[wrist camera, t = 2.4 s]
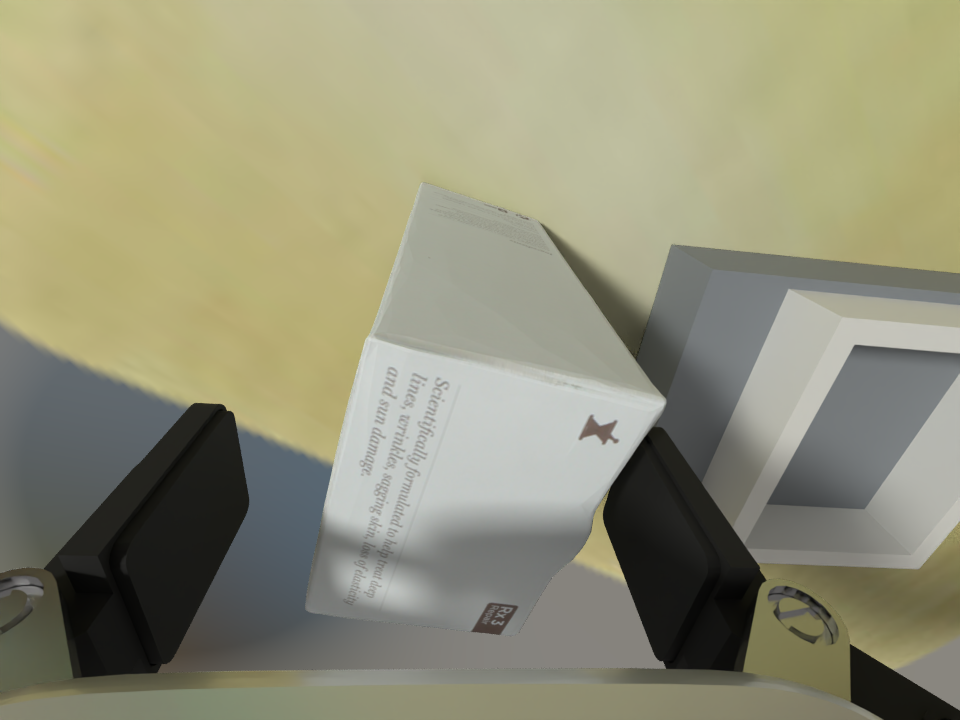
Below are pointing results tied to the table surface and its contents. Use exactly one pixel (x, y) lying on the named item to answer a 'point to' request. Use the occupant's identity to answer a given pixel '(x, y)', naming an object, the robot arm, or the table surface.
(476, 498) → the skincare box
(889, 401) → the grey box holder
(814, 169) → the table surface
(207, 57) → the table surface
